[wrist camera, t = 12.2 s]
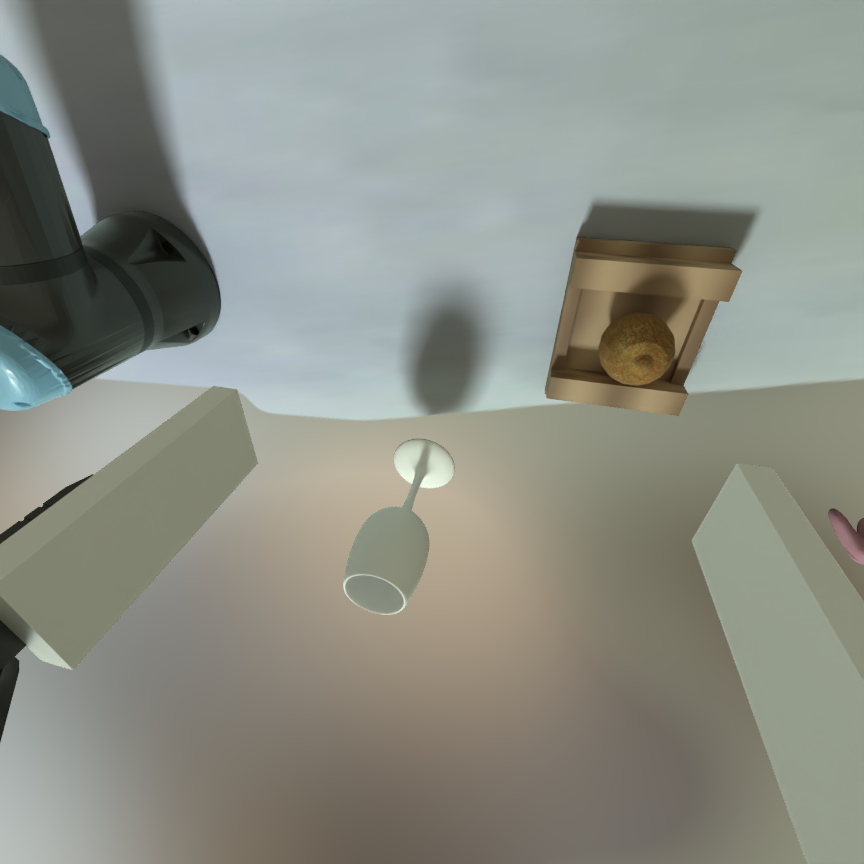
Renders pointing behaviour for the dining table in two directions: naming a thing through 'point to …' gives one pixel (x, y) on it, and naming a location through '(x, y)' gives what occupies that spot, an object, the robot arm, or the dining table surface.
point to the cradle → (627, 293)
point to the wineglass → (396, 535)
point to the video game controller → (849, 535)
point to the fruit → (636, 348)
